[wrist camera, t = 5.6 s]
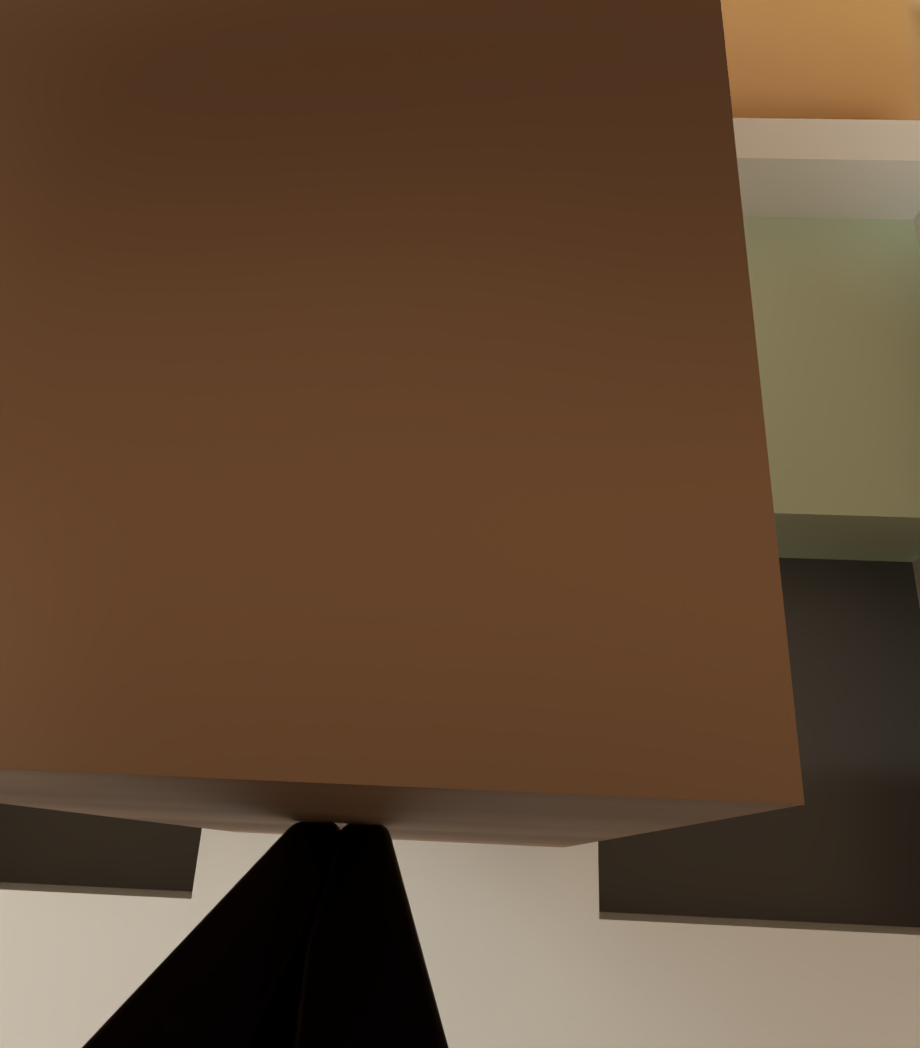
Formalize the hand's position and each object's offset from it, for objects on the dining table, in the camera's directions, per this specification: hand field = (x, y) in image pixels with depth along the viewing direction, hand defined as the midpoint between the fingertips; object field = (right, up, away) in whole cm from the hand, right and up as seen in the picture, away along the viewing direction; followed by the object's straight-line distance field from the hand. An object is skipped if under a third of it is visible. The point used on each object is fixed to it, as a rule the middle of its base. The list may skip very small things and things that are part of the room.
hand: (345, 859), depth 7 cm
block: (0, +1, +6) cm, 6 cm away
